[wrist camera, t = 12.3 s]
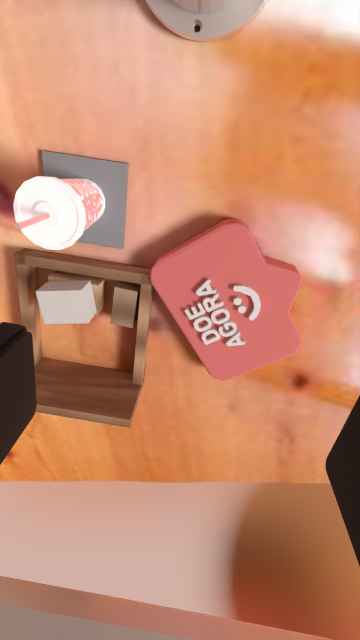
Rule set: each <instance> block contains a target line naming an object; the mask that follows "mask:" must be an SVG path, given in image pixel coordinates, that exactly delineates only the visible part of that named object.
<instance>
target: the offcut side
mask: <svg viewBox="0 0 360 640" xmlns="http://www.w3.org/2000/svg"><path fill="white" fill-rule="evenodd" d="M140 289H141V285H138V284H133V283H128V282H124V281H118V283H117V284H116V286H115V287H114V296H113V305H112V314H111V323H110V324H115V325H120V326H124V327H129V328H133V326H134V324H135V322H136V317H137V311H138V304H139V298H140Z"/></svg>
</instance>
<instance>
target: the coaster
mask: <svg viewBox="0 0 360 640" xmlns="http://www.w3.org/2000/svg"><path fill="white" fill-rule="evenodd" d="M42 164H43V176H46V177H56V178H58V179H88V180H90V181H92V182H94V183H95V184H96V185H97V186H98V187H99V188H100V189H101V190H102V193H103V195H104V197H105V209H104V212H103V214H102V215H101V217H100V218H99V219H98V220H97V221H95V222H94V223H93V224H92V225H91V226H90V227H88V228H87V229H86V230H85V231H84V232H83V234H82V236H81V237H80V238H79V239H78V240H77V241H76V242H82V243H88V244H94V245H101V246H107V247H113V248H120V249H123V248H124V233H125V215H126V197H127V179H128V164H127V163H121V162H114V161H108V160H101V159H95V158H88V157H82V156H75V155H69V154H62V153H56V152H49V151H42Z"/></svg>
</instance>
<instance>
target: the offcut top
mask: <svg viewBox="0 0 360 640" xmlns="http://www.w3.org/2000/svg"><path fill="white" fill-rule="evenodd" d="M35 292H36V295H37V299H38V303H39V306H40V310H41V313H42V317H43V320H44V324H71V323H89V322H90V320H91V319H92V317H93V316H94V315H95V313H96V312H97V311H96V306H95V301H94V296H93V290H92V285H91V280H86V281H52V282H47V283H45V284H44V285H43V286H42V287H40V288H39V289H38V290H37V291H35Z"/></svg>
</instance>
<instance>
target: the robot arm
mask: <svg viewBox="0 0 360 640" xmlns="http://www.w3.org/2000/svg"><path fill="white" fill-rule="evenodd" d="M145 1H146V3H147V4H148V6H149V8H150V10H151V11H152V13H153V14H154V15H155V16H156V17H157V18H158V20H159V21H160V22H161V23H162V24H163V25H164V26H165V27H167V28H168V29H169V30H171V31H172V32H173V33H175V34H177V35H179V36H181V37H183V38H186V39H190V40H194V41H199V42H200V41H215V40H218V39H222V38H225V37H228V36H230V35H232V34H233V33H235V32H237V31H239V30H240V29H242V28H243V27H244V26H245V25H247V24H248V23H249V22H250V21H251V20H252V19H253V18H254V17H255V16H256V15H257V14H258V12H259V11H260V10H261V9H262V8H263V6H264V5H265V3H266V2H267V0H145ZM196 26H199V27H200V31H199V32H195V30H194V29H195V27H196ZM36 407H37V400H36V384H35V368H34V352H33V337H32V333H31V332H28V331H27V329H26V327H25V326H23V325H18V324H12V323H7V322H2V323H0V464H1V463H2V462H3V460H4V459H5V457H6V456H7V454H8V453H9V451H10V450H11V448H12V447H13V445H14V444H15V443H16V441H17V440H18V438H19V437H20V435H21V434H22V432H23V431H24V429H25V428H26V426H27V425H28V424H29V422H30V421H31V419H32V418H33V416H34V414H35V411H36ZM326 471H327V474H328V477H329V480H330V483H331V485H332V488H333V491H334V494H335V497H336V500H337V503H338V506H339V508H340V511H341V514H342V517H343V520H344V523H345V526H346V528H347V531H348V534H349V537H350V540H351V543H352V545H353V548H354V551H355V554H356V557H357V560H358V563H359V565H360V396H359V398H358V400H357V402H356V404H355V405H354V407H353V409H352V411H351V413H350V415H349V417H348V419H347V421H346V423H345V424H344V426H343V428H342V430H341V432H340V434H339V436H338V438H337V440H336V442H335V443H334V445H333V447H332V449H331V451H330V453H329V455H328V457H327V459H326ZM0 640H334V639H329V638H324V637H319V636H314V635H309V634H304V633H298V632H294V631H289V630H283V629H279V628H273V627H268V626H263V625H257V624H253V623H247V622H242V621H237V620H232V619H227V618H221V617H216V616H210V615H205V614H200V613H195V612H190V611H184V610H179V609H174V608H169V607H163V606H158V605H153V604H148V603H143V602H137V601H132V600H127V599H122V598H116V597H111V596H106V595H100V594H95V593H90V592H84V591H79V590H73V589H68V588H62V587H57V586H51V585H46V584H41V583H35V582H30V581H25V580H19V579H13V578H8V577H2V576H0Z"/></svg>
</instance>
